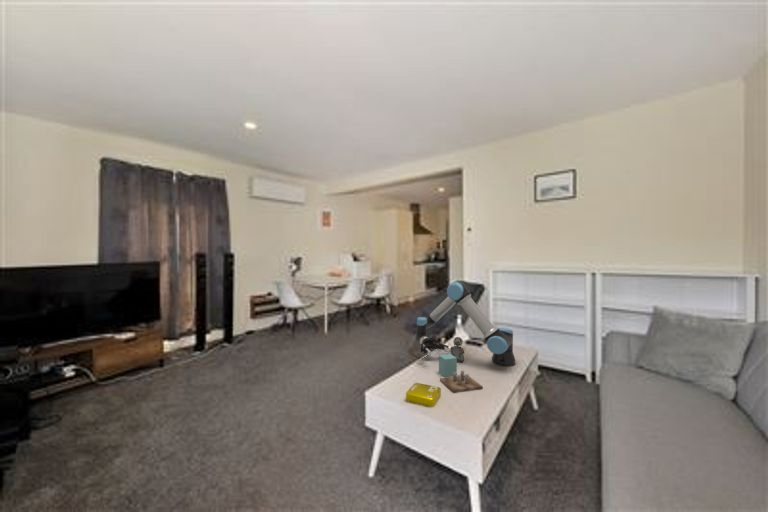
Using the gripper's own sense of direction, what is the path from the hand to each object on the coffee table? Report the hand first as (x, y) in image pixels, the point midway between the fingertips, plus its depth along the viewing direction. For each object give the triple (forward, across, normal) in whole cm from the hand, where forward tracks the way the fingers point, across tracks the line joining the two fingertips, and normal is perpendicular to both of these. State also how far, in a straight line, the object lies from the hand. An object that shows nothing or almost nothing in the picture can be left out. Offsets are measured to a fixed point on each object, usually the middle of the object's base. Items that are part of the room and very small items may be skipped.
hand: (440, 352), depth 205 cm
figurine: (-10, -18, -10) cm, 23 cm away
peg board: (+26, 0, -10) cm, 28 cm away
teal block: (+10, 0, -10) cm, 14 cm away
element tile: (+35, +26, -10) cm, 45 cm away
